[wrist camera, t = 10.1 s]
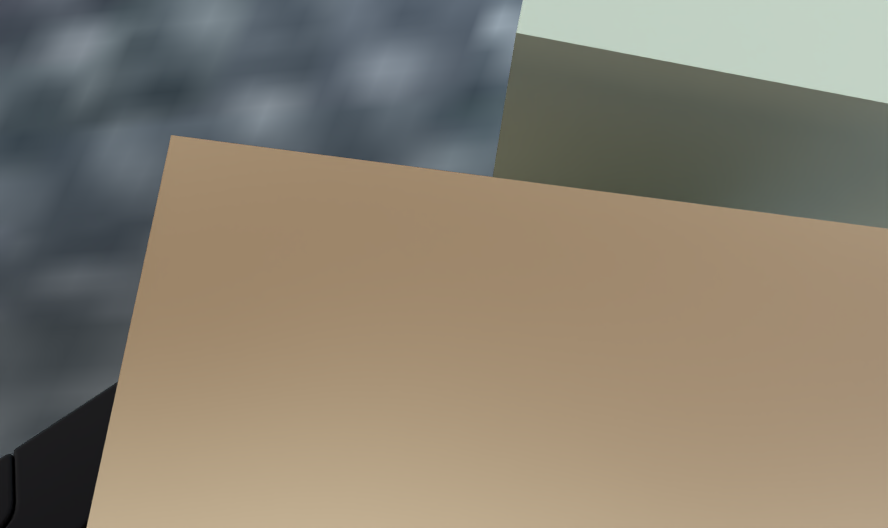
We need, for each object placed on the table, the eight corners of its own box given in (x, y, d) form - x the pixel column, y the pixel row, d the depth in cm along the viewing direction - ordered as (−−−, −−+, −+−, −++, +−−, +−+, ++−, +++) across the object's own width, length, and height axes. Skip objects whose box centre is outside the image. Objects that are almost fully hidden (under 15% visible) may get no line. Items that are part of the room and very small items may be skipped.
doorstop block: (577, 579, 15) (889, 1019, 4) (326, 541, 15) (13, 869, 4) (600, 351, 16) (913, 232, 5) (362, 318, 16) (170, 135, 5)
